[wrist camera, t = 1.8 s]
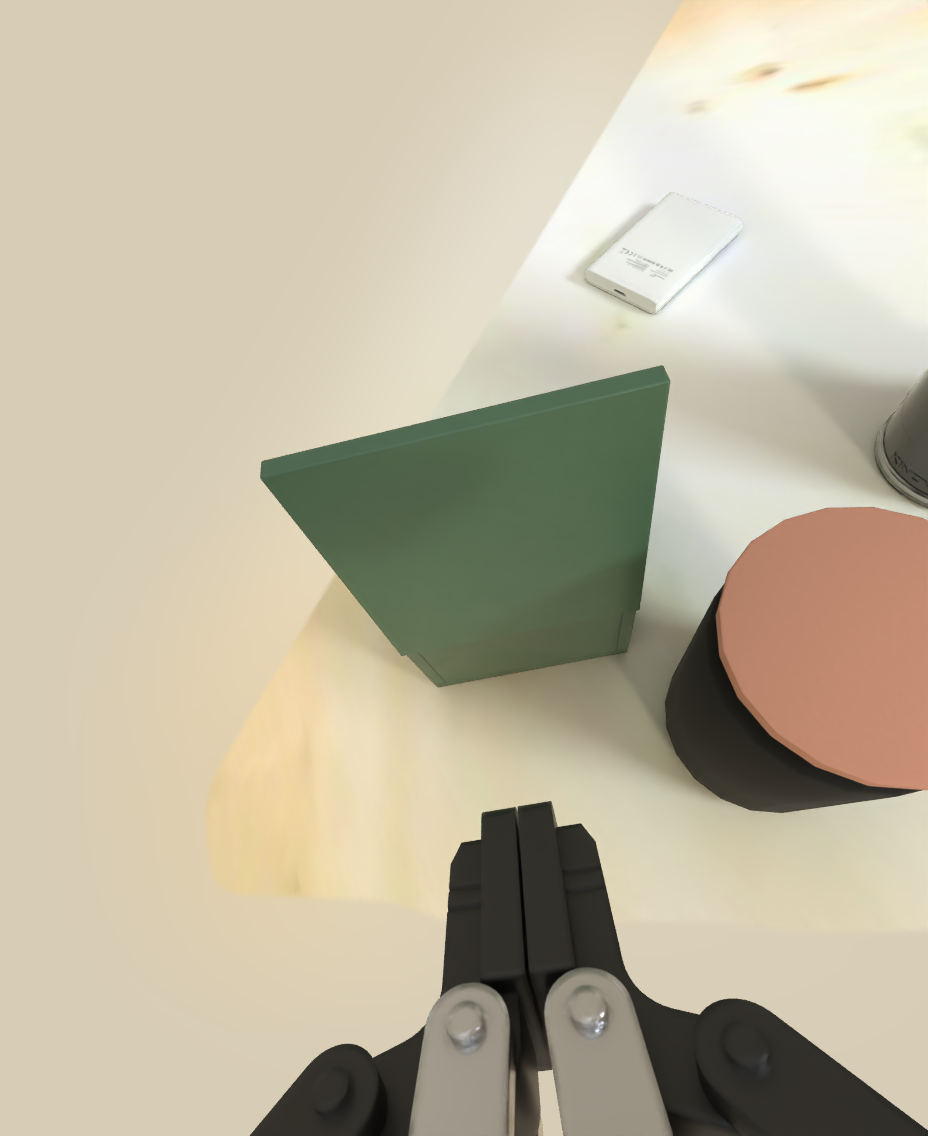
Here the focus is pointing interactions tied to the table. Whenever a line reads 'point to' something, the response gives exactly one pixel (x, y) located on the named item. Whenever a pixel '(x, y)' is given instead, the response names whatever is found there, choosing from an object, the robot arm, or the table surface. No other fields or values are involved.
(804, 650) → the coffee jar
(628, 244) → the hard drive
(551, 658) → the green box
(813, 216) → the table surface
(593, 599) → the green lid
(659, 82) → the table surface
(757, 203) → the table surface
